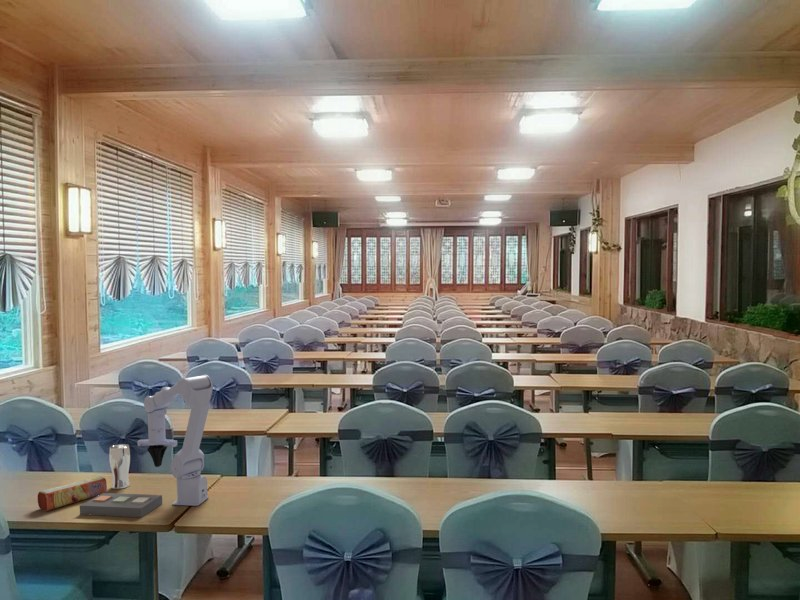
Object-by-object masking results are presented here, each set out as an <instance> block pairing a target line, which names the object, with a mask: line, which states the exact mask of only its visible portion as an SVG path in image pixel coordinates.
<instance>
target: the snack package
mask: <svg viewBox="0 0 800 600" xmlns="http://www.w3.org/2000/svg"><path fill="white" fill-rule="evenodd" d="M102 493H107V479H106V478H105V477H104V476H93V477H90V478H86V479H82V480H78V481H74V482H69V483H67V484H63V485H60V486H56V487H51V488H47V489H44V490H43V489H42V490H40V491H39V492H38V493H37V505H38V507H39V509H40V510H41V511H43V510H44V511H43V512H49V511H52V510H55V509H57V508H62V507H65V506H68V505H71V504H74V503H77V502H81V501H84V500H88V499H91V497H92V498H95V497H97V496H98V495H101V494H102Z"/></svg>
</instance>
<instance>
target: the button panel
mask: <svg viewBox="0 0 800 600" xmlns="http://www.w3.org/2000/svg"><path fill="white" fill-rule="evenodd" d="M100 496H112V498H111V499H109V500H108V501H106V502H93V500H94V499H96V498H98V497H100ZM120 496H122V497H131V499H130V500H128V501H126V502H124V503H112V501H113V500H114V499H116V498H118V497H120ZM138 497H147V498H150V500H148V501H147V502H145V503H144V504H135V503H132V501H133V500H135V499H137V498H138ZM161 505H163V495H162V494H145V493H144V494H142V493H120V492H119V493H117V492H116V493H115V492H114V493H113V492H106V493H102V494H101V495H99V496H95V497H92V499H91V498H90V499H89V500H87V501H86V502H84V503H82V504H80V505H79V515H80V516H81V515H82V516H98V515H106V516H105V517H119V516H123V517H124V518H143V517H145V516H146V515H148V514H149V513H151V512H152V511H154V510H155V509H157V508H158V507H160V506H161ZM147 513H148V514H147ZM89 514H91V515H89ZM142 516H143V517H142ZM123 517H122V518H123Z"/></svg>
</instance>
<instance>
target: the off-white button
mask: <svg viewBox="0 0 800 600" xmlns="http://www.w3.org/2000/svg"><path fill="white" fill-rule="evenodd" d="M148 500H150V498H147V497H138V498H137V499H135V500H133V501H132V503H135V504H144V503H145V502H147V501H148Z"/></svg>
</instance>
